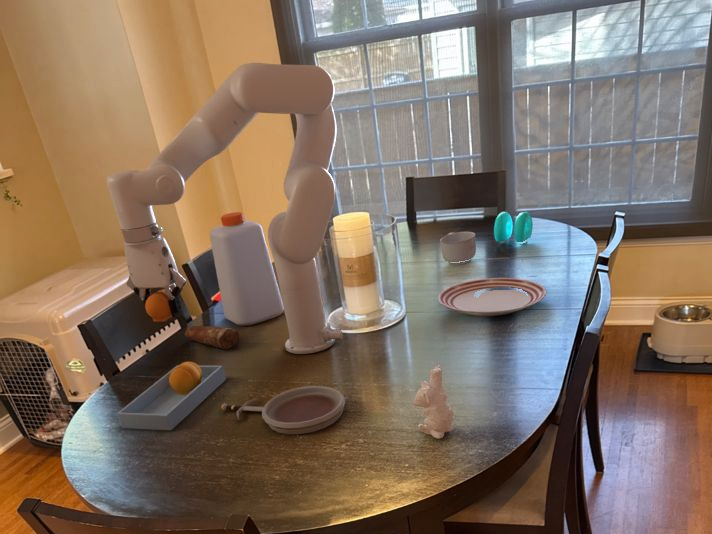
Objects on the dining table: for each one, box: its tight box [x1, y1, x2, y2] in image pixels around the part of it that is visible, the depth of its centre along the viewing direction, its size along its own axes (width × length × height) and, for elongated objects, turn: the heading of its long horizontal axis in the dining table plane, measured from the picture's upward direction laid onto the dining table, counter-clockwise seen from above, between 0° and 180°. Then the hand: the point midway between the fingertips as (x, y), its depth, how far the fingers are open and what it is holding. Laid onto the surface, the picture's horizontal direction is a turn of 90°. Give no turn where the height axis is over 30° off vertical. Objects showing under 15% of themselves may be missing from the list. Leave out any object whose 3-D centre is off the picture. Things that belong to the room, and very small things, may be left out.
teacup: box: [439, 231, 477, 266], centre depth 209 cm, size 14×11×8 cm
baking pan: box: [116, 364, 227, 431], centre depth 148 cm, size 12×24×4 cm, turn 162°
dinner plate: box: [437, 277, 547, 317], centre depth 173 cm, size 28×27×3 cm
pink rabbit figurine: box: [412, 365, 455, 440], centre depth 118 cm, size 8×7×12 cm
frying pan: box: [220, 385, 346, 435], centre depth 136 cm, size 17×3×28 cm
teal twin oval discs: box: [493, 211, 534, 246], centre depth 216 cm, size 10×10×10 cm
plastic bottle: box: [209, 211, 284, 327], centre depth 185 cm, size 15×15×28 cm
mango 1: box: [144, 288, 173, 323], centre depth 151 cm, size 6×9×6 cm, turn 160°
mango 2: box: [169, 361, 202, 395], centre depth 152 cm, size 6×9×6 cm, turn 162°
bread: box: [184, 325, 241, 350], centre depth 176 cm, size 6×19×6 cm, turn 47°
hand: (165, 314), depth 153 cm, fingers closed on mango 1, 5 cm apart
